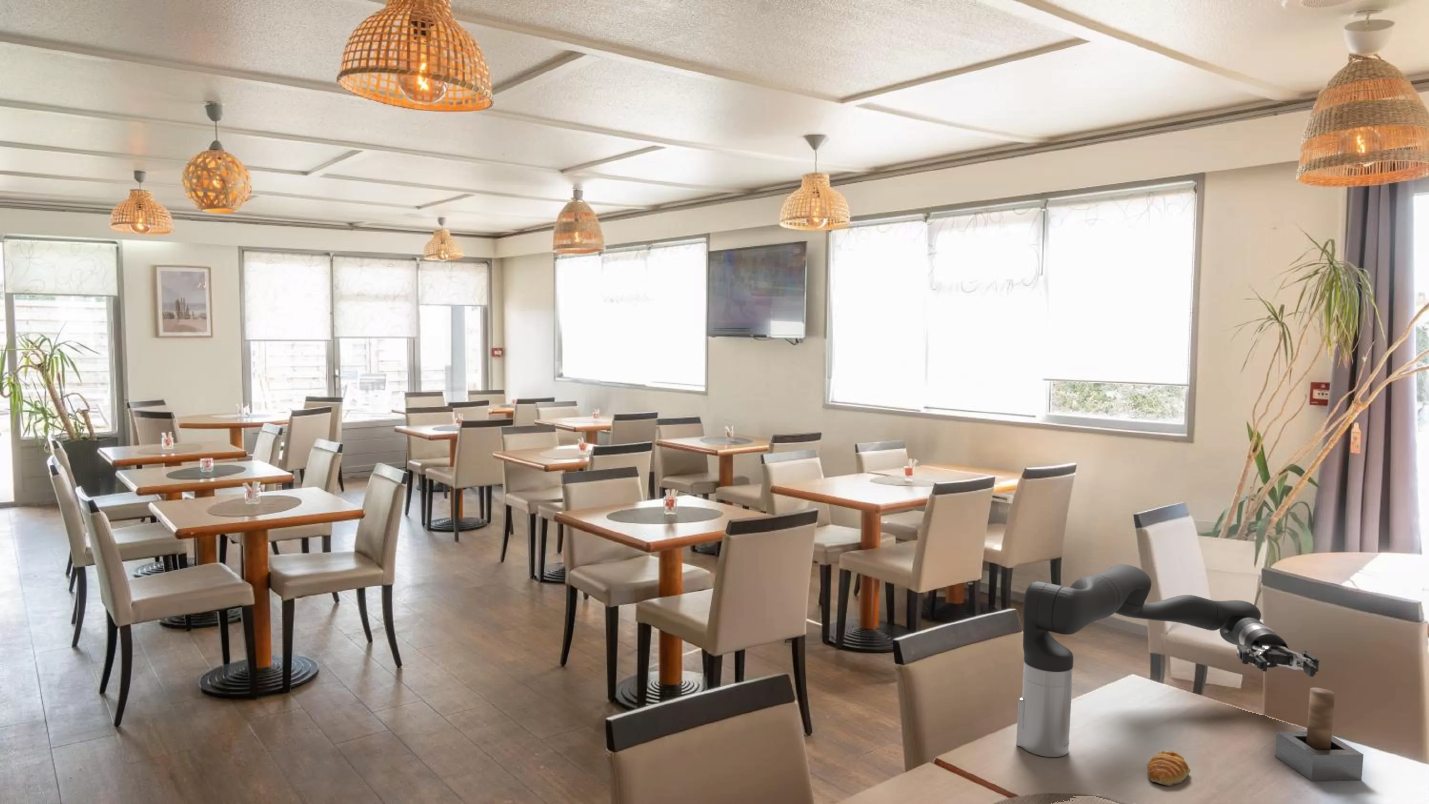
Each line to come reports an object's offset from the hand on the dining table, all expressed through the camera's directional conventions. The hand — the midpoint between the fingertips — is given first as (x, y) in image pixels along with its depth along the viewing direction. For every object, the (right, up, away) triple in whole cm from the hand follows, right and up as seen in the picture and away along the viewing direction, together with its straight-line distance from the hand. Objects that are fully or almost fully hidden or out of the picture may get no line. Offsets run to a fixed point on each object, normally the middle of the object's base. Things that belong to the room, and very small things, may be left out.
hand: (1288, 669), depth 187 cm
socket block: (0, -16, -9) cm, 19 cm away
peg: (0, -15, -9) cm, 18 cm away
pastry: (-31, -17, -13) cm, 38 cm away
